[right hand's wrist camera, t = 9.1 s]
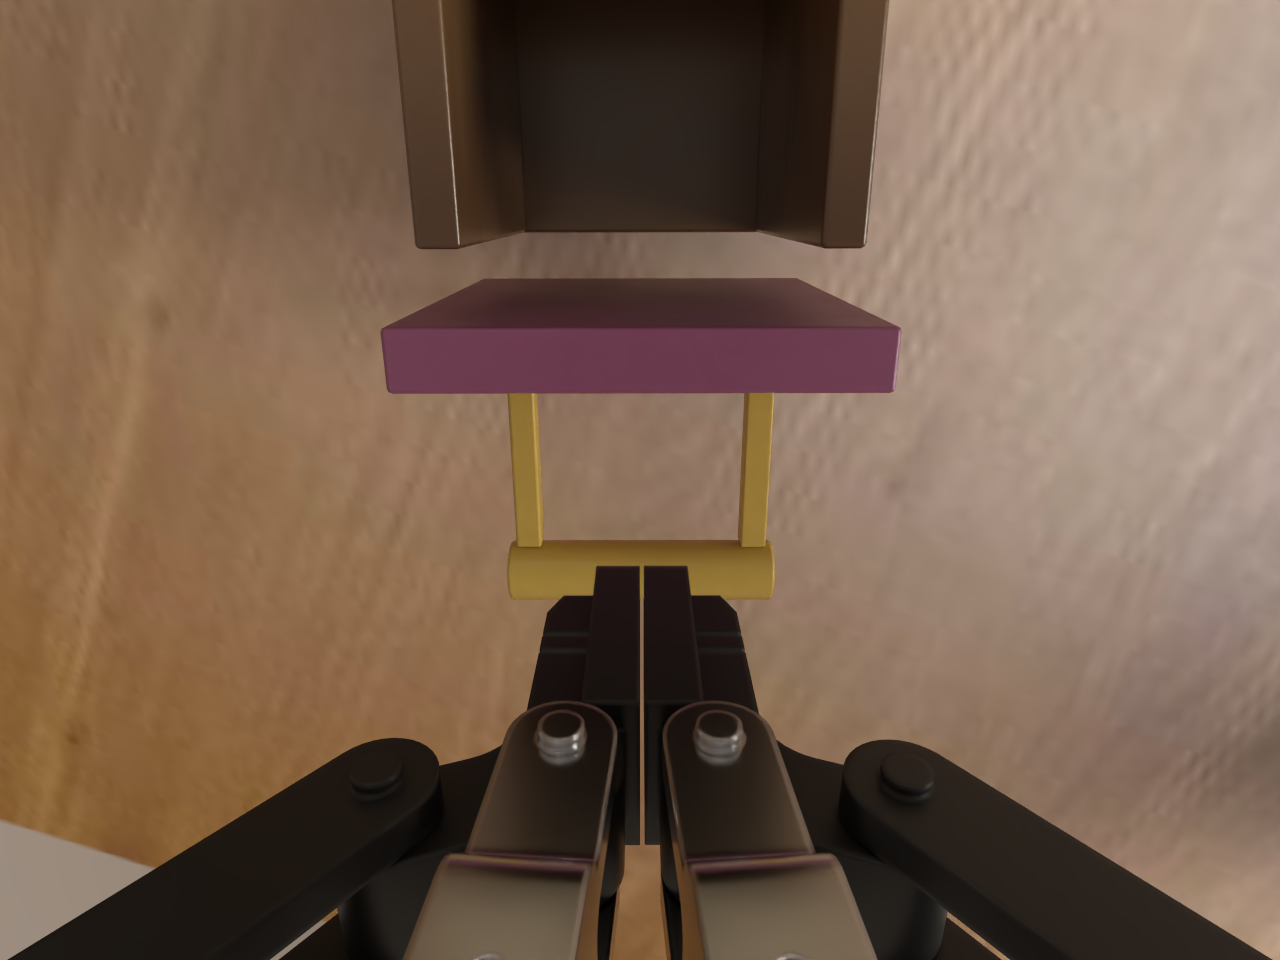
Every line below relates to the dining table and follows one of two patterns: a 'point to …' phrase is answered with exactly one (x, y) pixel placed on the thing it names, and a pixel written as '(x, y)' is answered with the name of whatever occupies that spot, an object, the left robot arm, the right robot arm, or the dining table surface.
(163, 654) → the dining table surface
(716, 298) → the drawer
